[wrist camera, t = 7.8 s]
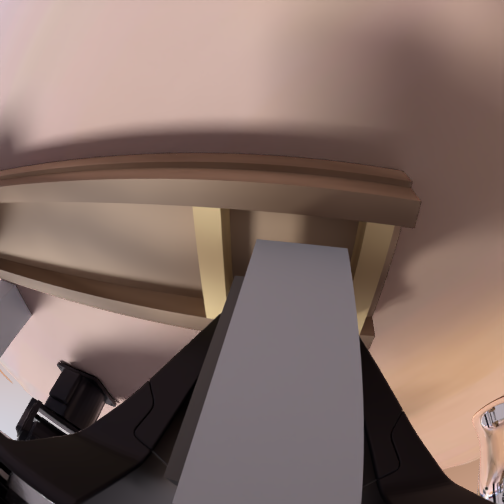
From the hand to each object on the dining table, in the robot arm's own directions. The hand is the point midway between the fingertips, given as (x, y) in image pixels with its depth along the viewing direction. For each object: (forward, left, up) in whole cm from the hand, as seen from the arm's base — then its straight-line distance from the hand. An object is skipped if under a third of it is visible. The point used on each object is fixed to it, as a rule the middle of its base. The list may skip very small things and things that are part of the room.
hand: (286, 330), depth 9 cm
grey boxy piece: (0, 0, -2) cm, 2 cm away
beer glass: (-18, -25, -5) cm, 31 cm away
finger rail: (0, +12, -5) cm, 13 cm away
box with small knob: (-9, +26, -5) cm, 28 cm away
